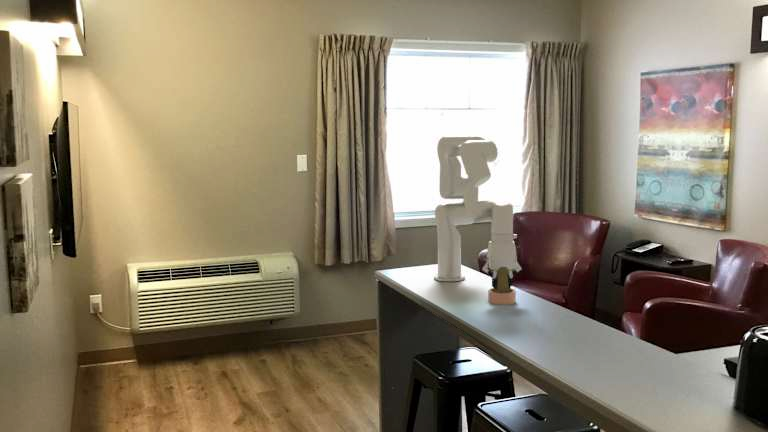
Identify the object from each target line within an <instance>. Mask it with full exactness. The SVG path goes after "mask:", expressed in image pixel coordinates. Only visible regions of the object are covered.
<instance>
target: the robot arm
mask: <svg viewBox="0 0 768 432" xmlns="http://www.w3.org/2000/svg"><path fill="white" fill-rule="evenodd" d="M436 146H437V147H436V148H437V150H436V151H437V157H438V161H439V195H440V197H441V198H442V199H444V200H463V201H453V202H452V201H451V202H449V201H448V202H443V203H439V204H438V205H437V206H436V207H435V210H434V216H435V222H436V230H437V231H436V232H437V274H434V276H433V279H434V280H435V281H439V282H450V283H451V282H460V281H464V280H465V279H466V277H465V276H466V275H464V274H463V273H462V236H461V233H460V232H459V231H458V229H457V227H456V226H462V225H463V226H465V225H471V224H474V223H485V222H491V225H490V227H491V228H490V232H491V233H490V235H491V236H490V238H491V239H490V240H489V241H488V246H487V252H486V253H487V254H486V262H485V264H484V265H483V267H482V271H483V272H484V273H486V274H488V275H489V276H490V277H491V288H495V290H497V279H496V275H497V270H499V268H500V267H507V268H508V270H509V273H508V284H509V289H510V288H511V287H512V285H513V281H512V279H513V277H514V276H515V275H516V274H517V273H519V272H520V271H522V270H523V269H522V266H521V265H520V264H519V262H518V260H517V259H518V256H517V248H516V247H517V246H516V244H515V241H514V239H517V238H518V236H517V235H518V234H515V233H514V206H513V204H512V203H509V202H504V201H502V200H497V199H496V200H493V199H492V200H479V186H483V184H485V183H487V182H488V181H489V180H490V178H491V176H492V173H491V171H490V168H489V165H488V163H493V162H495V161H496V160H497V158H498V153H499V152H498V148H497V145H496V144H495V142H494V141H493V140H492V139H490V138H487V137H485V136H482V135H480V134H449V135H448V134H447V135H444V136H442V137H441V138H439V140H438V142H437V145H436ZM458 157H460V158H461V161H462V164H463V167H464V170H465V173H466V174H465V175H462V164H461V161H460V160H459V158H458ZM488 268H489V269H488Z"/></svg>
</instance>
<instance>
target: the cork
mask: <svg viewBox="0 0 768 432" xmlns="http://www.w3.org/2000/svg"><path fill="white" fill-rule="evenodd" d="M508 273H509V270H508V268H507V267H500V268H499V270H497V275H496V279H497V290H495V288H494V292H496V293H510V289H509V284H508Z"/></svg>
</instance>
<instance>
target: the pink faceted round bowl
mask: <svg viewBox="0 0 768 432" xmlns="http://www.w3.org/2000/svg"><path fill="white" fill-rule="evenodd" d="M516 294H517V290H516V289H514V288H511V287H510V293H496V292H494V288H493V287H491V288H489V289H488V294H487V295H488V300H487V301H488V302H489V303H490V304H492V305H500V306H501V305H502V306H503V305H504V306H505V305H513V304H515V303H516V302H517V301H516V300H517V295H516Z"/></svg>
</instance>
